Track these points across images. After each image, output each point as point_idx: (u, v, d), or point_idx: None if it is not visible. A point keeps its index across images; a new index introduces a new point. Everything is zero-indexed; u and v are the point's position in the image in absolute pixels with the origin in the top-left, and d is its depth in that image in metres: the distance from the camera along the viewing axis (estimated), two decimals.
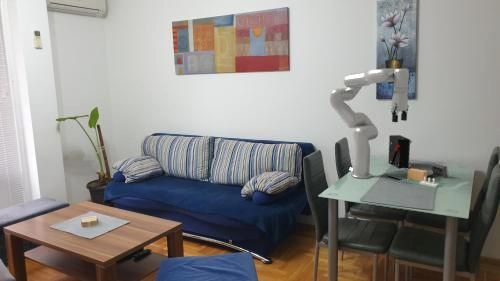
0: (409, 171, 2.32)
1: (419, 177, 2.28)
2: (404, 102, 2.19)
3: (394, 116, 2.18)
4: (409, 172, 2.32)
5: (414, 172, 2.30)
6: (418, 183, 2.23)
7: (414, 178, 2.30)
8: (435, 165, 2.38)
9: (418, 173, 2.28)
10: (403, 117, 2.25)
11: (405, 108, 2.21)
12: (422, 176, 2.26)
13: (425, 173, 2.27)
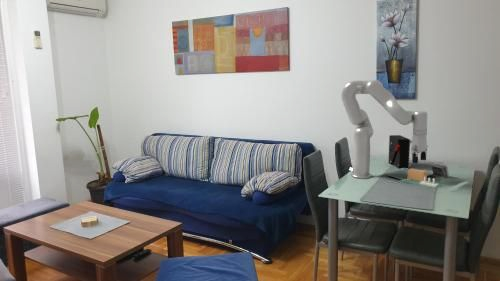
0: (409, 171, 2.32)
1: (419, 177, 2.28)
2: (423, 143, 2.26)
3: (414, 157, 2.25)
4: (409, 172, 2.32)
5: (414, 172, 2.30)
6: (418, 183, 2.23)
7: (414, 178, 2.30)
8: (435, 165, 2.38)
9: (418, 173, 2.28)
10: (422, 157, 2.32)
11: (425, 148, 2.28)
12: (422, 176, 2.26)
13: (425, 173, 2.27)
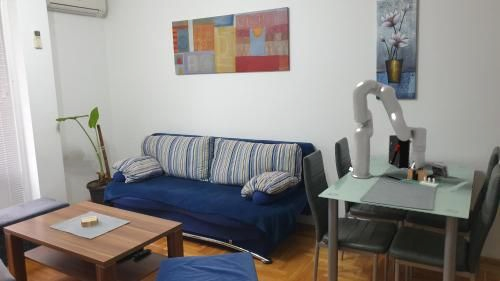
0: (409, 171, 2.32)
1: (419, 177, 2.28)
2: (422, 159, 2.27)
3: (414, 174, 2.28)
4: (409, 172, 2.32)
5: None
6: (418, 183, 2.23)
7: None
8: (435, 165, 2.38)
9: (418, 173, 2.28)
10: None
11: (423, 164, 2.30)
12: (422, 176, 2.26)
13: (425, 173, 2.27)
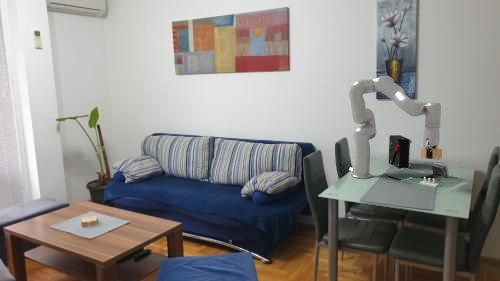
0: (423, 149, 2.18)
1: (434, 155, 2.13)
2: (436, 137, 2.13)
3: (428, 153, 2.14)
4: (423, 151, 2.18)
5: None
6: (418, 183, 2.23)
7: None
8: (435, 165, 2.38)
9: (432, 151, 2.14)
10: None
11: (437, 142, 2.16)
12: (437, 154, 2.12)
13: (440, 151, 2.13)
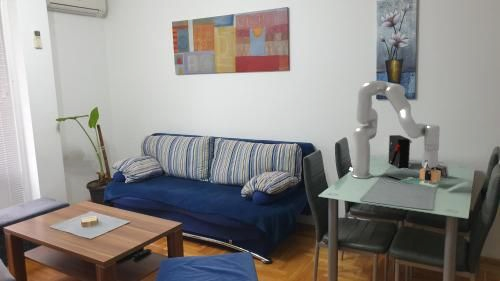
0: (421, 171, 2.20)
1: (432, 177, 2.16)
2: (435, 159, 2.15)
3: (427, 174, 2.16)
4: (421, 172, 2.20)
5: None
6: (418, 183, 2.23)
7: None
8: None
9: (431, 172, 2.16)
10: None
11: (436, 164, 2.18)
12: (435, 176, 2.14)
13: (438, 173, 2.15)
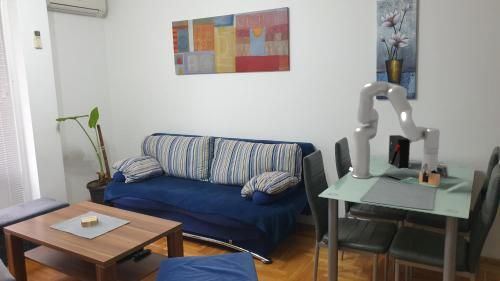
0: (421, 174, 2.20)
1: (431, 181, 2.16)
2: (434, 162, 2.16)
3: (424, 176, 2.15)
4: (421, 175, 2.20)
5: None
6: (418, 183, 2.23)
7: None
8: None
9: (430, 176, 2.16)
10: None
11: (436, 167, 2.18)
12: (435, 180, 2.15)
13: (438, 176, 2.15)
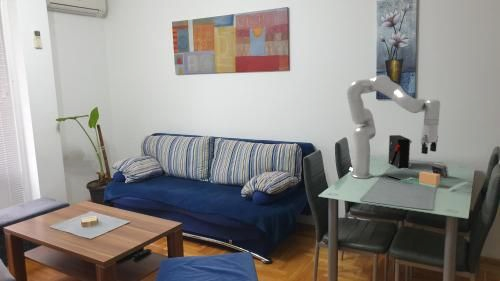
0: (421, 174, 2.20)
1: (431, 181, 2.16)
2: (434, 134, 2.16)
3: (424, 148, 2.15)
4: (421, 175, 2.20)
5: (426, 175, 2.18)
6: (418, 183, 2.23)
7: (426, 182, 2.18)
8: (435, 165, 2.38)
9: (430, 176, 2.16)
10: (432, 148, 2.22)
11: (435, 139, 2.18)
12: (435, 180, 2.15)
13: (438, 176, 2.15)
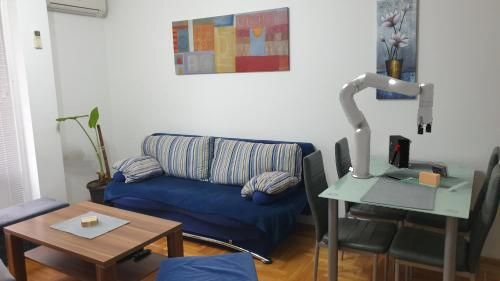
0: (421, 174, 2.20)
1: (431, 181, 2.16)
2: (429, 115, 2.27)
3: (420, 129, 2.26)
4: (421, 175, 2.20)
5: (426, 175, 2.18)
6: (418, 183, 2.23)
7: (426, 182, 2.18)
8: (435, 165, 2.38)
9: (430, 176, 2.16)
10: (427, 129, 2.33)
11: (430, 120, 2.29)
12: (435, 180, 2.15)
13: (438, 176, 2.15)
